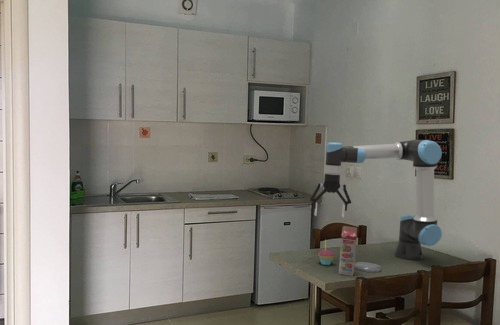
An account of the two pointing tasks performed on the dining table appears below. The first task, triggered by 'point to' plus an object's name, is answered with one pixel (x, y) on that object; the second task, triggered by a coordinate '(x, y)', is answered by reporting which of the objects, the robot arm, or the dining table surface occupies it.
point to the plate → (367, 267)
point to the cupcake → (326, 256)
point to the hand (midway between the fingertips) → (329, 216)
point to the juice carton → (348, 250)
